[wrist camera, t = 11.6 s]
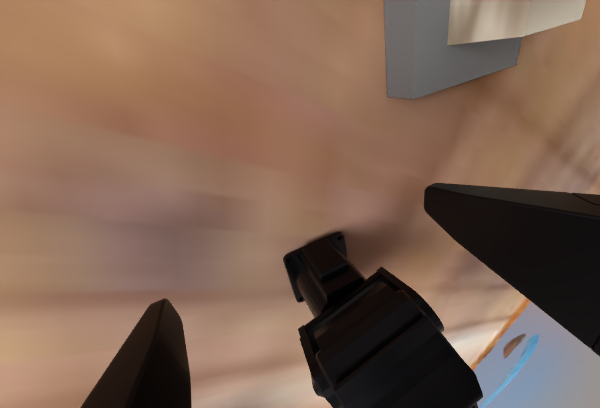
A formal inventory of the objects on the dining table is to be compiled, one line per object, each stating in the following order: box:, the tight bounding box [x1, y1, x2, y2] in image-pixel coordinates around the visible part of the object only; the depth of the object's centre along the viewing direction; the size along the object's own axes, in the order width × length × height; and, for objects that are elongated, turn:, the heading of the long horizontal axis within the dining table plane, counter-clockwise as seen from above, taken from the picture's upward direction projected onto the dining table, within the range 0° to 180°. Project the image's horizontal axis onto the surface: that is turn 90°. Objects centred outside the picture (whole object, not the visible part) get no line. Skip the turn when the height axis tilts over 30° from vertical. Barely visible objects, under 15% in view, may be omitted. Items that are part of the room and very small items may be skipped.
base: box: [384, 0, 522, 99], centre depth 19 cm, size 11×11×3 cm
